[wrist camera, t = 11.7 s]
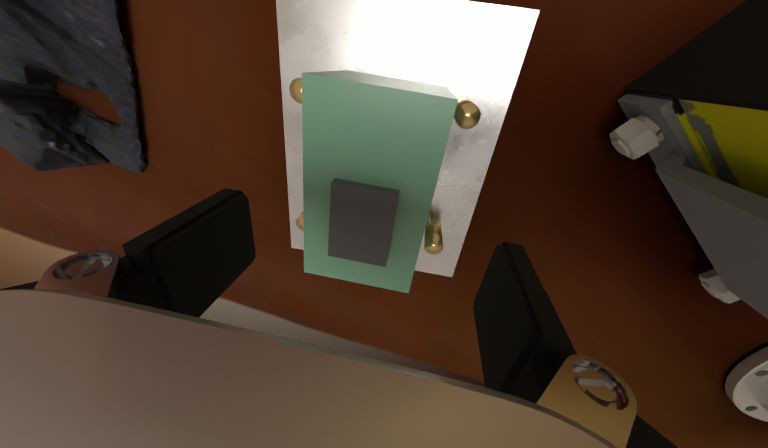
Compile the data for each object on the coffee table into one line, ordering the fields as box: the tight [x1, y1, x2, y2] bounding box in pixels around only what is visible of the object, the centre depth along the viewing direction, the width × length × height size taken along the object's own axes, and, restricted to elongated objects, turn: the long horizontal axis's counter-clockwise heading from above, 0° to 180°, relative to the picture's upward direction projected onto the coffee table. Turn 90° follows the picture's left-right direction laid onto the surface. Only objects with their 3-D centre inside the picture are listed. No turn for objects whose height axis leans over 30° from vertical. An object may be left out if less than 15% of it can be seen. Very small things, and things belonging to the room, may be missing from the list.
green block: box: [302, 70, 458, 293], centre depth 16 cm, size 6×10×8 cm, turn 172°
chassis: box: [276, 0, 540, 277], centre depth 18 cm, size 14×18×4 cm
